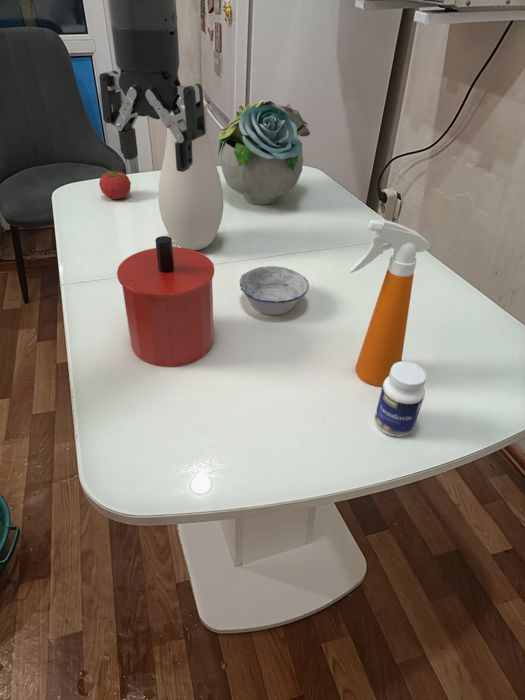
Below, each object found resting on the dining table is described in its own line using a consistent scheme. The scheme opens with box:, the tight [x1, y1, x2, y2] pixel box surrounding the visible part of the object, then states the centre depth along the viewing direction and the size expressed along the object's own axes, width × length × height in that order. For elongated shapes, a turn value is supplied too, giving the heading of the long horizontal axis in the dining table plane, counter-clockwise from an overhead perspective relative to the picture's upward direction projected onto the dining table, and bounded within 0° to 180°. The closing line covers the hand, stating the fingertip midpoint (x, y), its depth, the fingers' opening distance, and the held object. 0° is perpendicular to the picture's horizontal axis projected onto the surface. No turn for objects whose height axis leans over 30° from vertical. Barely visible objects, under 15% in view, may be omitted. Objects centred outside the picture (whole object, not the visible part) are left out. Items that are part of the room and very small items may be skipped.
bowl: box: [239, 265, 310, 316], centre depth 96 cm, size 13×13×5 cm
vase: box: [157, 96, 224, 251], centre depth 106 cm, size 14×14×30 cm
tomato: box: [98, 168, 132, 200], centre depth 133 cm, size 8×8×8 cm
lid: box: [116, 235, 215, 297], centre depth 78 cm, size 15×15×6 cm
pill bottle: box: [374, 360, 427, 437], centre depth 71 cm, size 6×6×10 cm
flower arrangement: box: [216, 99, 311, 206], centre depth 131 cm, size 25×25×24 cm
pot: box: [121, 278, 215, 368], centre depth 83 cm, size 14×14×14 cm
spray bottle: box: [349, 218, 432, 387], centre depth 75 cm, size 7×11×26 cm, turn 94°
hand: (157, 164), depth 69 cm, fingers open, 8 cm apart
